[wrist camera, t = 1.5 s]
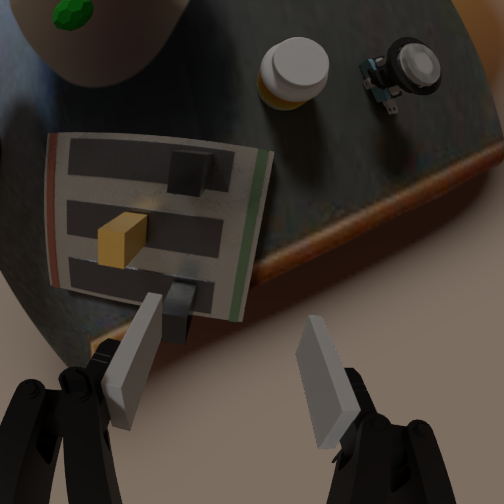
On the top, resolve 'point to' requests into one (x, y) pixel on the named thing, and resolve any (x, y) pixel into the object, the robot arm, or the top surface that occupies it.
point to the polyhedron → (72, 14)
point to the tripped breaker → (121, 239)
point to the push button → (402, 72)
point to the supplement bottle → (292, 73)
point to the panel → (157, 220)
